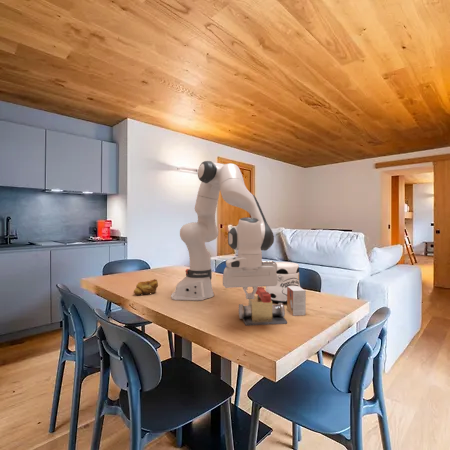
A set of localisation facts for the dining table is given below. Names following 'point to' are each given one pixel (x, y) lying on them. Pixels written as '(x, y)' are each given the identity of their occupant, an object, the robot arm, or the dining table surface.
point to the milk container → (284, 281)
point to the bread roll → (146, 287)
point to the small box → (296, 300)
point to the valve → (262, 312)
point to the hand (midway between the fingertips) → (250, 298)
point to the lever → (263, 295)
